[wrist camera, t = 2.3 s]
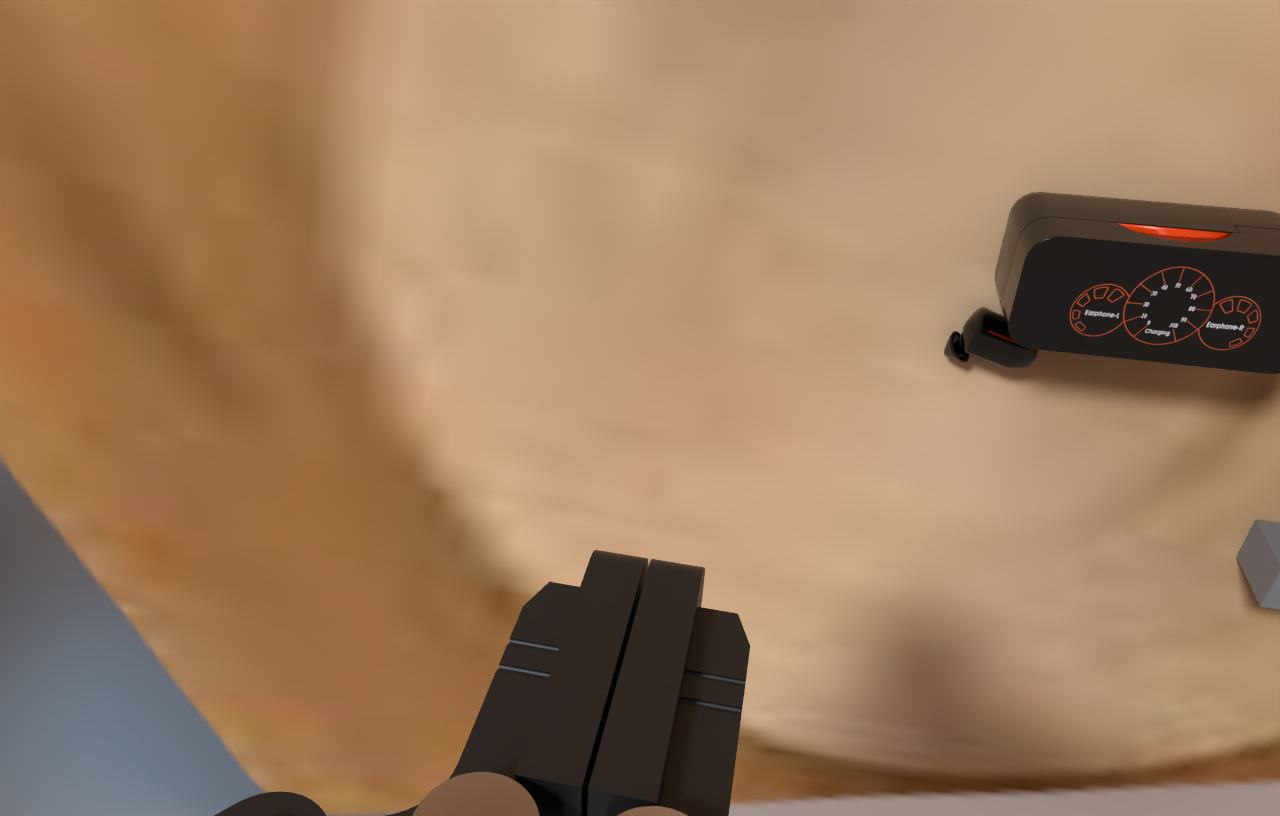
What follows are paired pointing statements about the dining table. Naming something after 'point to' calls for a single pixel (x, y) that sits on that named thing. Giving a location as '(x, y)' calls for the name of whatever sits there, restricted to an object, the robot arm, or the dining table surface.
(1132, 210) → the wireless earbuds
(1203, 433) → the dining table surface
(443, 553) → the dining table surface
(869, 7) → the dining table surface
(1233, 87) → the dining table surface
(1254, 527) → the slot rails
